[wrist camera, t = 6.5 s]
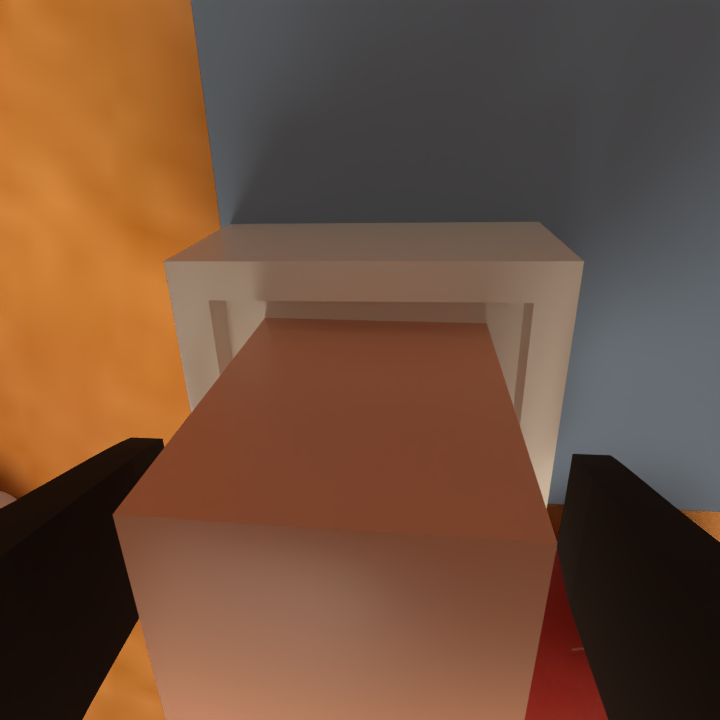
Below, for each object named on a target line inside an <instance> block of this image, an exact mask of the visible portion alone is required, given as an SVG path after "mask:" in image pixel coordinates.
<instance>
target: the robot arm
mask: <svg viewBox="0 0 720 720" xmlns="http://www.w3.org/2000/svg"><path fill="white" fill-rule="evenodd" d="M163 449H164V444H163V439H154V438H129V439H127V440H125V441H122V442H120V443H118V444H116V445H114V446H112V447H110V448H108V449H106V450H105V451H103V452H101V453H99V454H97V455H95V456H93V457H92V458H90V459H88V460H86V461H85V462H83V463H81V464H79V465H77V466H76V467H74V468H72V469H70V470H69V471H67V472H65V473H63V474H62V475H60V476H58V477H56V478H54V479H53V480H51V481H49V482H47V483H46V484H44V485H42V486H40V487H38V488H37V489H35V490H33V491H31V492H30V493H28V494H26V495H24V496H23V497H21V498H19V499H17V500H15V501H14V502H12V503H10V504H8V505H6V506H4V507H2V508H0V720H82V719H83V718H84V716H85V714H86V712H87V710H88V708H89V706H90V704H91V702H92V700H93V699H94V697H95V695H96V693H97V691H98V690H99V688H100V686H101V684H102V683H103V681H104V679H105V677H106V676H107V674H108V672H109V670H110V668H111V667H112V665H113V663H114V661H115V660H116V658H117V656H118V654H119V653H120V651H121V649H122V647H123V645H124V644H125V642H126V640H127V638H128V637H129V635H130V633H131V631H132V629H133V628H134V626H135V624H136V622H137V621H138V619H139V615H138V611H137V607H136V603H135V599H134V595H133V592H132V588H131V584H130V580H129V576H128V572H127V569H126V565H125V561H124V557H123V553H122V549H121V545H120V542H119V538H118V534H117V530H116V526H115V522H114V519H113V513H114V512H115V511H116V509H117V508H118V507H119V506H120V504H121V503H122V502H123V500H124V499H125V498H126V497H127V495H128V494H129V493H130V491H131V490H132V489H133V488H134V486H135V485H136V484H137V482H138V481H139V480H140V478H141V477H142V476H143V475H144V473H145V472H146V471H147V469H148V468H149V467H150V466H151V464H152V463H153V462H154V460H155V459H156V458H157V456H158V455H159V454H160V453H161V451H162V450H163ZM557 551H558V556H559V561H560V566H561V571H562V576H563V580H564V585H565V589H566V594H567V598H568V603H569V606H570V609H571V613H572V616H573V619H574V622H575V625H576V628H577V630H578V633H579V636H580V639H581V642H582V645H583V648H584V651H585V654H586V657H587V660H588V663H589V666H590V668H591V671H592V674H593V677H594V680H595V683H596V686H597V689H598V692H599V694H600V697H601V700H602V703H603V706H604V709H605V712H606V715H607V718H608V720H720V542H719V541H717V540H716V539H715V538H713V537H712V536H711V535H710V534H708V533H707V532H706V531H704V530H703V529H702V528H701V527H699V526H698V525H697V524H696V523H694V522H693V521H692V520H691V519H689V518H688V517H687V516H686V515H684V514H683V513H682V512H681V511H679V510H678V509H677V508H676V507H675V506H673V505H672V504H671V503H670V502H668V501H667V500H666V499H665V498H664V497H662V496H661V495H660V494H659V493H657V492H656V491H655V490H654V489H653V488H651V487H650V486H649V485H648V484H647V483H645V482H644V481H643V480H642V479H640V478H639V477H638V476H637V475H636V474H634V473H633V472H632V471H631V470H629V469H628V468H627V467H626V466H624V465H623V464H622V463H621V462H619V461H618V460H617V459H615V458H614V457H613V456H611V455H593V454H572V460H571V466H570V472H569V478H568V484H567V490H566V496H565V502H564V508H563V514H562V520H561V526H560V532H559V538H558V544H557Z"/></svg>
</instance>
